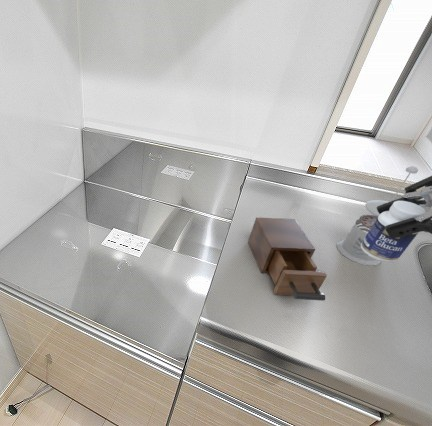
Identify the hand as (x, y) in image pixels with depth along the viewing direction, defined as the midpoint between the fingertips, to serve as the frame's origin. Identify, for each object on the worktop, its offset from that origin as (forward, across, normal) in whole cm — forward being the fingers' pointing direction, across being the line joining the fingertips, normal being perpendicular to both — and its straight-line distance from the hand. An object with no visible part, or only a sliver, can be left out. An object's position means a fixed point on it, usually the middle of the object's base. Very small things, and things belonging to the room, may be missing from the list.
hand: (383, 222), depth 49 cm
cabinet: (+25, -13, +9) cm, 29 cm away
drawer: (+22, -4, +11) cm, 25 cm away
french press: (+10, -25, +25) cm, 36 cm away
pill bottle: (+3, 0, +6) cm, 7 cm away
